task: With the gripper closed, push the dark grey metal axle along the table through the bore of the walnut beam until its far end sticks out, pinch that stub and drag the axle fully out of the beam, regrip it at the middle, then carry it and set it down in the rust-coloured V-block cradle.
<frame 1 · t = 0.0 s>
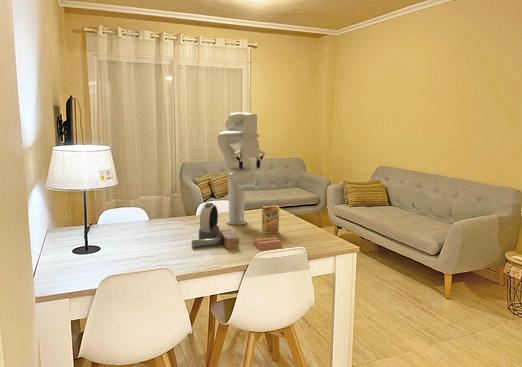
hand: (249, 168, 217), 37 cm above the table, tool pointing down, fingers open, 9 cm apart
axle: (212, 242, 202), point 2 cm above the table
beam: (228, 244, 205), on the table
alarm clock: (209, 236, 219), on the table
candy box: (270, 232, 226), on the table
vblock: (267, 245, 203), on the table
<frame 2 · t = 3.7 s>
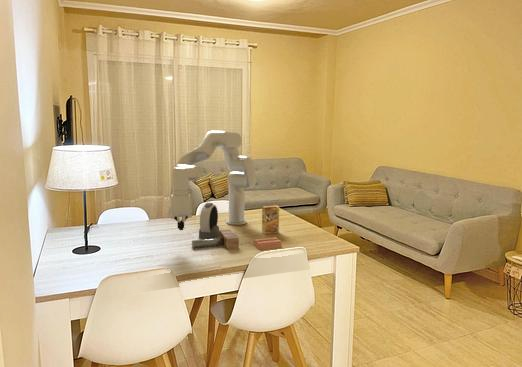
hand: (180, 229, 195), 10 cm above the table, tool pointing down, fingers closed
axle: (212, 242, 201), point 2 cm above the table, tilted 13°
everything else where it was.
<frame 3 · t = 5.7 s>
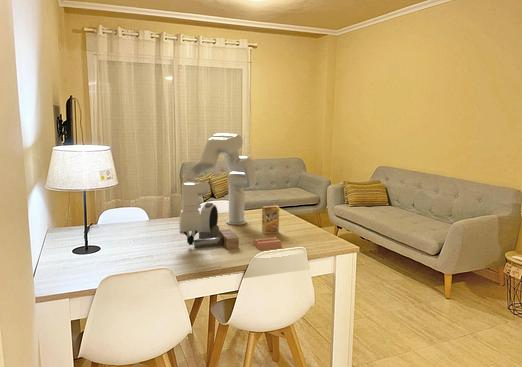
hand: (190, 244, 198), 2 cm above the table, tool pointing down, fingers closed
axle: (214, 241, 202), point 2 cm above the table, touching gripper
everything else where it was.
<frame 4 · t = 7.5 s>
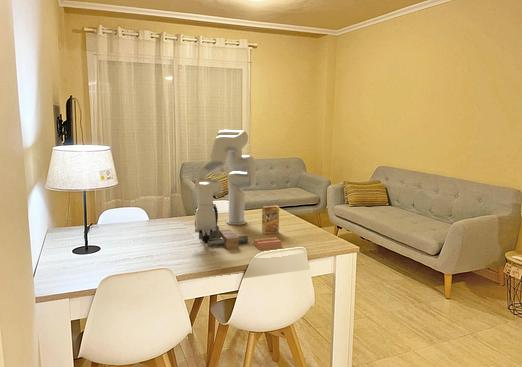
hand: (205, 242, 201), 2 cm above the table, tool pointing down, fingers closed
axle: (228, 240, 205), point 2 cm above the table, tilted 7°, touching gripper
everything else where it was.
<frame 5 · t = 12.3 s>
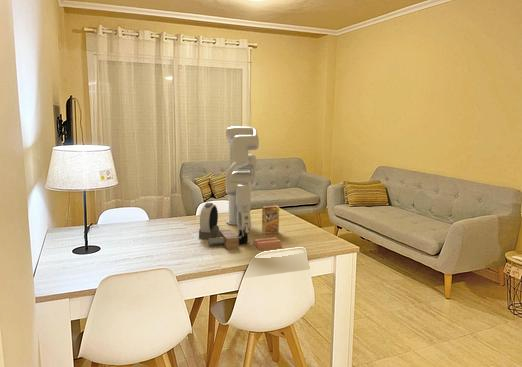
hand: (243, 241, 208), 0 cm above the table, tool pointing down, fingers closed on axle, 4 cm apart
axle: (228, 240, 205), point 2 cm above the table, tilted 18°, touching gripper
everything else where it was.
when the fingers open (0 cm above the table, at t = 16.0 s): axle stays where it is and tips over, point 2 cm above the table.
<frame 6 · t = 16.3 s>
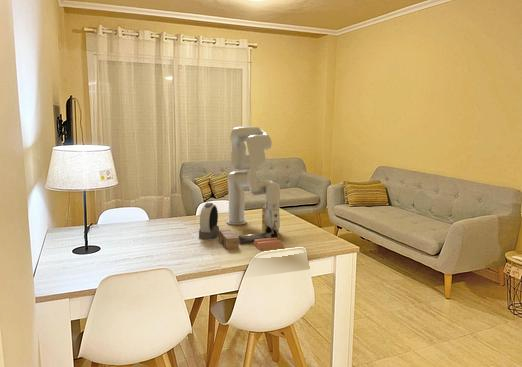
hand: (271, 238, 214), 1 cm above the table, tool pointing down, fingers open, 7 cm apart
axle: (257, 237, 211), point 2 cm above the table, tilted 34°
everything else where it was.
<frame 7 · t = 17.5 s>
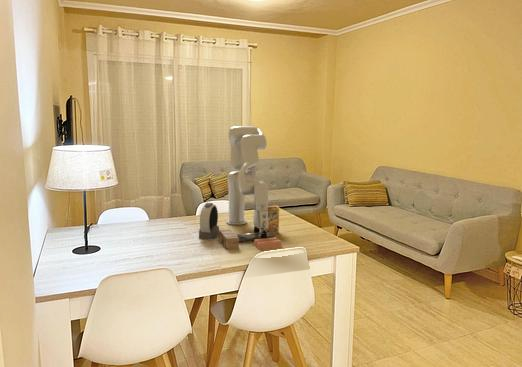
hand: (260, 238, 211), 1 cm above the table, tool pointing down, fingers open, 9 cm apart
axle: (255, 236, 213), point 2 cm above the table, tilted 99°
everything else where it was.
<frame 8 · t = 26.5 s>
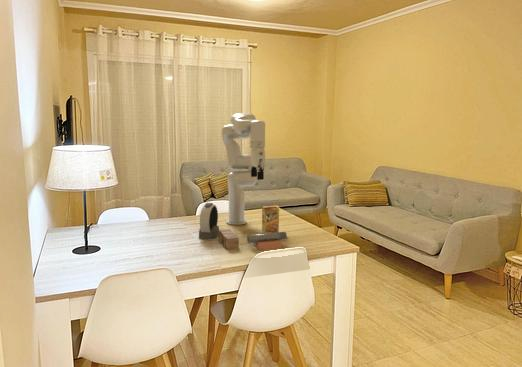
hand: (257, 178, 207), 33 cm above the table, tool pointing down, fingers open, 9 cm apart
axle: (267, 237, 202), point 5 cm above the table, tilted 16°, touching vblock
everything else where it was.
at the end: axle inside the target area on the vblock (0.3 cm from its centre), point 4.6 cm above the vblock's base; axle touching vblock; the gripper is holding nothing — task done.
